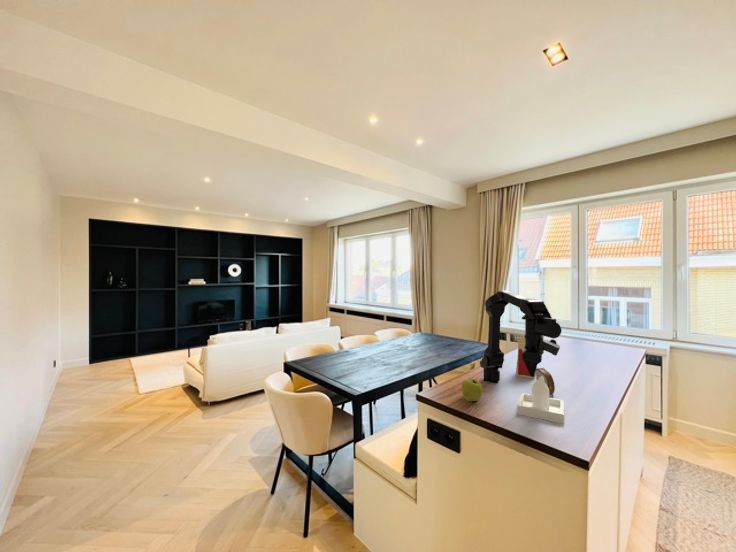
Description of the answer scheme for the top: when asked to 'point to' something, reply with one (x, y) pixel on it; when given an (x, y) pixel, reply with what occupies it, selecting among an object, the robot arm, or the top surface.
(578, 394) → the top surface
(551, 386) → the tin
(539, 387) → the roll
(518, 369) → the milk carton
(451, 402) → the top surface
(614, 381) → the top surface
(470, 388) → the apple
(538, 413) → the tray
